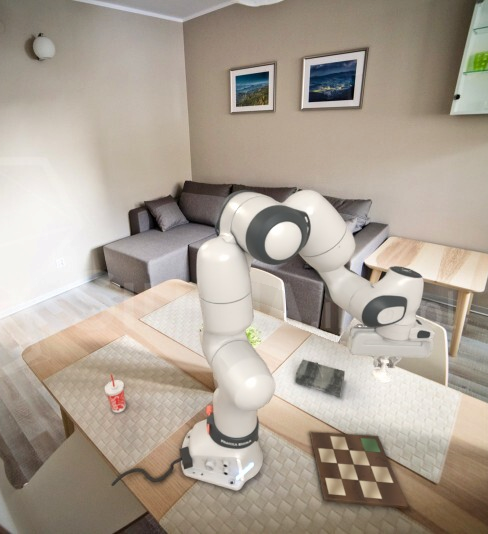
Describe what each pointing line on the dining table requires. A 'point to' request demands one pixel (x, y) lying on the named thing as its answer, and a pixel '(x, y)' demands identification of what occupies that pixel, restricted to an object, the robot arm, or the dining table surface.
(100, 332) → the dining table surface
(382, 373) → the chess piece
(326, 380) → the stone block
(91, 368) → the dining table surface
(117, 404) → the beverage cup
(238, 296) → the robot arm
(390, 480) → the game board
